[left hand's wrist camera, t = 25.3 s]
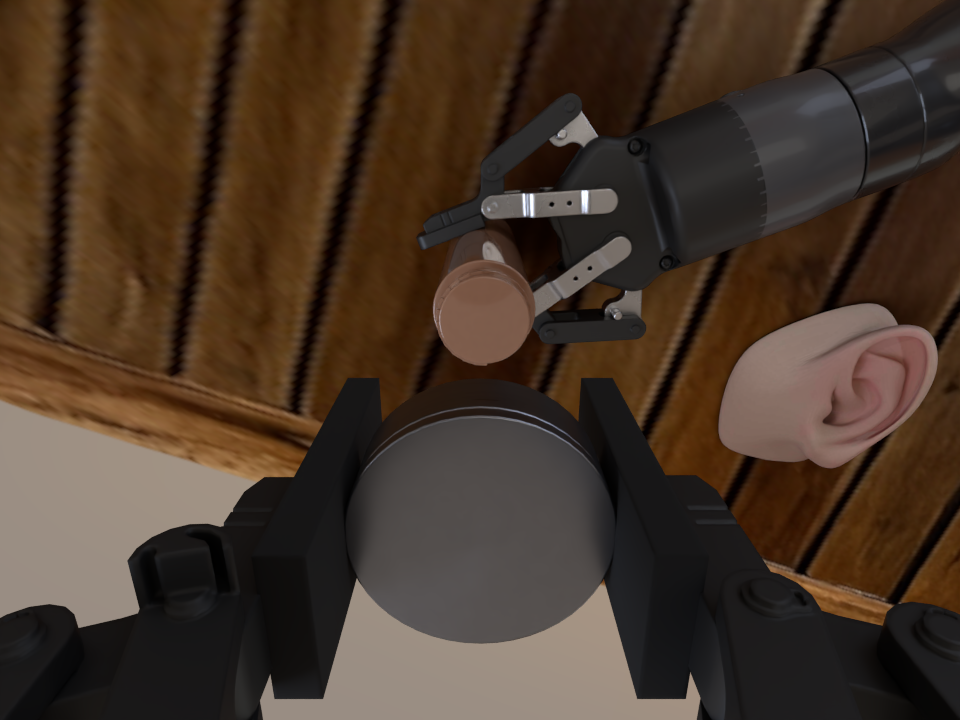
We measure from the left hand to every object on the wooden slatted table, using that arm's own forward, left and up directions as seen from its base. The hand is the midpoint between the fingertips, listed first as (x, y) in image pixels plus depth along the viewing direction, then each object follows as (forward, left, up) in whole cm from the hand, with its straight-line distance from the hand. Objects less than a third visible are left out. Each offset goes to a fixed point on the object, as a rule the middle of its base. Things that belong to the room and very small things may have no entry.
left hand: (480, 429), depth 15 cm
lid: (0, 0, +4) cm, 4 cm away
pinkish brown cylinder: (0, 0, -26) cm, 26 cm away
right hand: (+2, -2, -20) cm, 20 cm away
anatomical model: (+4, +25, -26) cm, 37 cm away
